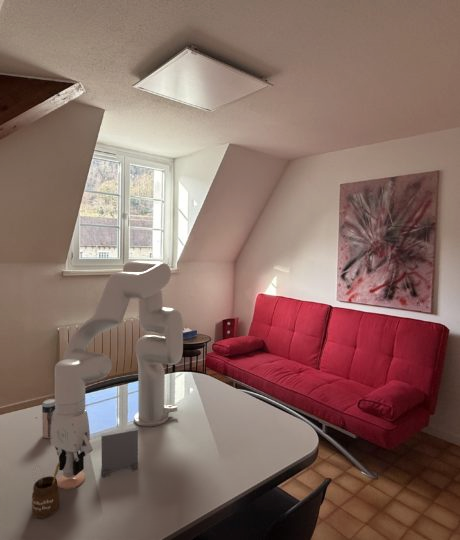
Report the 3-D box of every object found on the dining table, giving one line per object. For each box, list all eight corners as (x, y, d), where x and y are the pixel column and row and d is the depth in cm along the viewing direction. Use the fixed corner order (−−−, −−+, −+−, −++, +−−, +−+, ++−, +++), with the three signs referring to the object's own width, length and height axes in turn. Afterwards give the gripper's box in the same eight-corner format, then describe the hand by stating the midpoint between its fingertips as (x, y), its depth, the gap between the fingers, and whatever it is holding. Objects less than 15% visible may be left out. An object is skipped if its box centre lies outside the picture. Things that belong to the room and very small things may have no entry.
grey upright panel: (136, 459, 110) (136, 424, 110) (138, 469, 106) (138, 432, 105) (101, 467, 107) (101, 430, 106) (102, 477, 102) (102, 439, 101)
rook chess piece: (67, 480, 97) (66, 451, 97) (59, 473, 100) (59, 445, 99) (83, 472, 101) (82, 445, 100) (75, 466, 103) (74, 439, 103)
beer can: (51, 440, 121) (51, 404, 120) (39, 438, 122) (38, 403, 121) (61, 432, 125) (60, 398, 125) (49, 431, 126) (48, 397, 125)
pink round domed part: (84, 470, 105) (84, 468, 105) (85, 485, 98) (85, 483, 98) (58, 475, 102) (57, 473, 102) (56, 491, 96) (56, 489, 96)
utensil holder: (38, 501, 92) (37, 456, 91) (64, 501, 92) (63, 455, 92) (27, 519, 86) (26, 470, 85) (54, 518, 87) (53, 470, 86)
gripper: (36, 405, 99) (37, 469, 100) (83, 417, 92) (84, 486, 94) (58, 394, 106) (59, 455, 107) (104, 405, 99) (105, 470, 100)
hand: (71, 469), depth 100 cm, fingers closed on rook chess piece, 4 cm apart
